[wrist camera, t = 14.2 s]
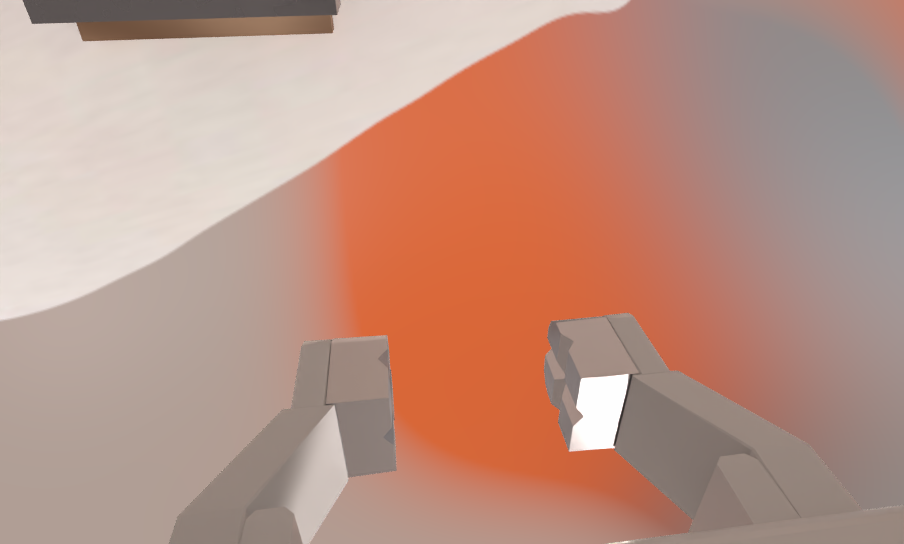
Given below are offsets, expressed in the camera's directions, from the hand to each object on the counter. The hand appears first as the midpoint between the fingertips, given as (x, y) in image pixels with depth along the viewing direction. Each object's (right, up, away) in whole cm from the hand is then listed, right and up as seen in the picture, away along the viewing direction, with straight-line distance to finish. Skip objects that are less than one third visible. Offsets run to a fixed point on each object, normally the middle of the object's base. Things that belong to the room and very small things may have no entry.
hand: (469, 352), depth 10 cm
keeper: (-15, +22, +18) cm, 32 cm away
